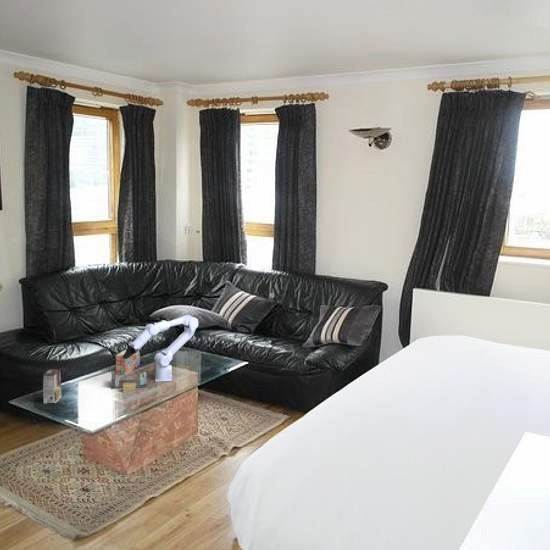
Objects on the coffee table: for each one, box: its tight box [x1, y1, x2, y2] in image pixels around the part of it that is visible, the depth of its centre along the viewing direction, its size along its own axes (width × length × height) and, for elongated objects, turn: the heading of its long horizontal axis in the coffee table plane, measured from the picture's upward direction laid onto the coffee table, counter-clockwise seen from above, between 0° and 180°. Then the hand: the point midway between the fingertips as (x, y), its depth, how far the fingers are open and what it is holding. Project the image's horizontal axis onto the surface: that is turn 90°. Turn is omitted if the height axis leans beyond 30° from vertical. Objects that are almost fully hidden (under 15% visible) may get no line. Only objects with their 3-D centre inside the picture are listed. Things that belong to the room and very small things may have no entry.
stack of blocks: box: [115, 349, 141, 376], centre depth 374 cm, size 21×6×12 cm, turn 168°
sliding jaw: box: [139, 371, 147, 385], centre depth 348 cm, size 4×10×5 cm, turn 13°
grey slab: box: [111, 372, 148, 390], centre depth 346 cm, size 20×12×6 cm, turn 103°
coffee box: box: [42, 368, 62, 404], centre depth 316 cm, size 9×6×16 cm
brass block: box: [122, 383, 137, 393], centre depth 336 cm, size 3×7×4 cm, turn 103°
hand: (124, 357), depth 342 cm, fingers open, 7 cm apart
